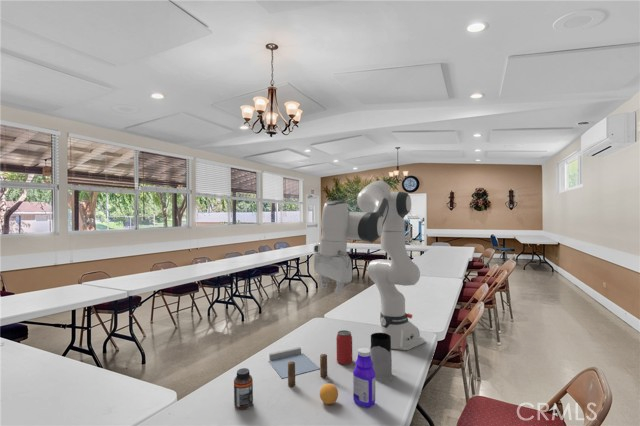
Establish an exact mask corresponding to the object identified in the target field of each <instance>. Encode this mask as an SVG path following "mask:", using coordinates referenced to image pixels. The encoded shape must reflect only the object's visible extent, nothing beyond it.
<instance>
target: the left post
mask: <svg viewBox="0 0 640 426" xmlns="http://www.w3.org/2000/svg"><path fill="white" fill-rule="evenodd" d="M295 386H296V375H295V362H293V361H291V362H288V377H287V387H288V388H294V387H295Z"/></svg>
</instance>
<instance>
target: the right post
mask: <svg viewBox="0 0 640 426" xmlns="http://www.w3.org/2000/svg"><path fill="white" fill-rule="evenodd" d="M319 362H320V363H319V364H320V365H319V368H320V369H319V371H320V375H319V376H320V378H321V379H326V378H328V355H327V354H326V353H321V354H320V358H319Z"/></svg>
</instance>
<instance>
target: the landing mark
mask: <svg viewBox="0 0 640 426" xmlns="http://www.w3.org/2000/svg"><path fill="white" fill-rule="evenodd" d="M291 361H293V362H295V376H298V375H302V374H306V373H310V372H314V371H317V370H320V366H318V365H317V364H316V363H314V362H313V360H311V359H310V357H308V356H307V355H306V353H304V352H303V353H302V352H301V354H298V355H294V356H289V357H285V358H280V359H276V360H272V361H270V360H268V361H267V362H268V363H269V365H271V367H272V368H273V369H274V371H275V372H276V373H277V374H278V376H279V377H280V378H281V379H282V380H283V379H286V378H287V379H288V362H291Z"/></svg>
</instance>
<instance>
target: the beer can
mask: <svg viewBox="0 0 640 426" xmlns="http://www.w3.org/2000/svg"><path fill="white" fill-rule="evenodd" d="M335 339H336V362H337V363H338V364H341V365H349V364H351V363H353V336H352V332H351V331H349V330H346V329H343V330H338V332H337V334H336V338H335Z"/></svg>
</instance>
